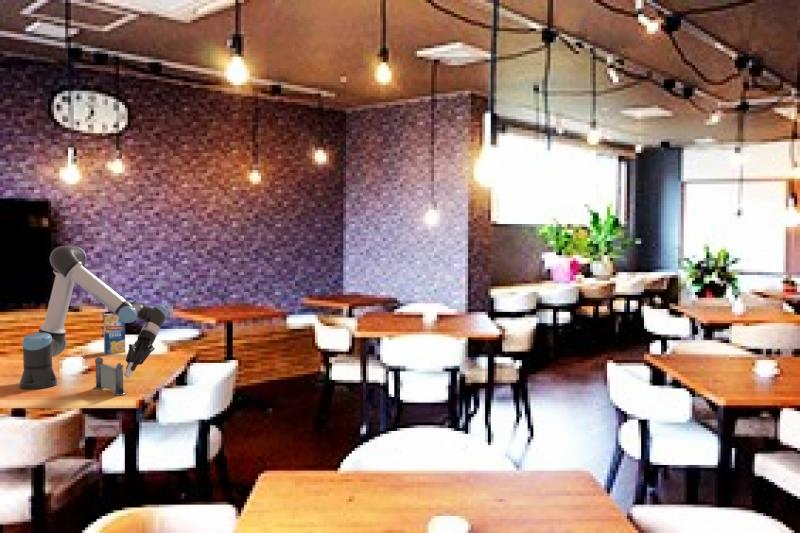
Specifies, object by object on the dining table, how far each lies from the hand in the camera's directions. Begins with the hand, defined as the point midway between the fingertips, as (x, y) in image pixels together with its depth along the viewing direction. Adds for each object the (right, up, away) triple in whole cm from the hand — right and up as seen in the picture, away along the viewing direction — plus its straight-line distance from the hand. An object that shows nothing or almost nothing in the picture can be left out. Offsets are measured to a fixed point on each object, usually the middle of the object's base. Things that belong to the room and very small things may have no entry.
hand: (126, 376), depth 318 cm
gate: (-4, -5, -7) cm, 10 cm away
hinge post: (-12, -5, -1) cm, 13 cm away
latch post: (+3, -6, -13) cm, 15 cm away
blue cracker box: (-43, -1, +93) cm, 102 cm away
